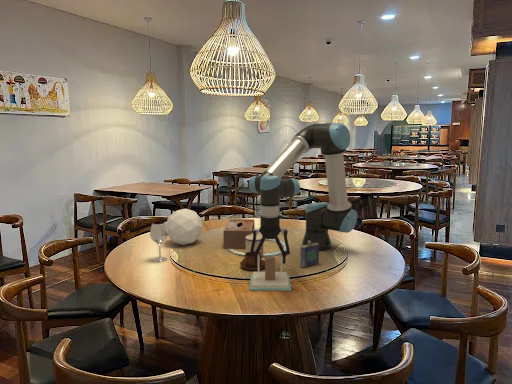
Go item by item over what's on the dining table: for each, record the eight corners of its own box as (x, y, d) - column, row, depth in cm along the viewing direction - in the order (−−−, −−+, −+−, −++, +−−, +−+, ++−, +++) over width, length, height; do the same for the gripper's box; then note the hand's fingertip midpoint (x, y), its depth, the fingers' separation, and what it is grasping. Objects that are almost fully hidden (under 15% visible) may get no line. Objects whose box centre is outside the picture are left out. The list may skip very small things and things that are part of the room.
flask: (302, 268, 166) (303, 243, 164) (298, 266, 169) (298, 241, 167) (320, 264, 171) (320, 239, 169) (315, 262, 174) (316, 238, 172)
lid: (286, 274, 157) (286, 253, 156) (288, 288, 144) (288, 265, 142) (253, 274, 158) (253, 253, 156) (252, 287, 144) (251, 265, 143)
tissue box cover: (230, 235, 220) (229, 219, 219) (254, 236, 220) (254, 219, 218) (223, 249, 195) (223, 230, 194) (251, 249, 194) (251, 230, 193)
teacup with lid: (261, 258, 180) (261, 234, 178) (243, 257, 182) (242, 233, 180) (266, 250, 191) (266, 228, 189) (249, 249, 193) (249, 227, 191)
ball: (192, 252, 210) (212, 223, 213) (182, 250, 191) (204, 218, 193) (165, 234, 214) (185, 205, 217) (153, 230, 195) (175, 198, 197)
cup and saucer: (257, 274, 160) (257, 260, 159) (234, 268, 167) (234, 255, 166) (271, 265, 170) (271, 252, 170) (249, 261, 177) (249, 248, 176)
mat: (288, 275, 158) (288, 273, 158) (291, 290, 142) (291, 289, 142) (250, 275, 159) (250, 273, 159) (249, 290, 143) (249, 289, 143)
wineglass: (172, 257, 181) (170, 221, 178) (162, 263, 174) (161, 225, 171) (157, 256, 184) (156, 220, 181) (147, 261, 176) (145, 224, 173)
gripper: (296, 213, 150) (295, 267, 153) (243, 213, 150) (244, 267, 154) (298, 217, 142) (297, 274, 146) (242, 217, 143) (242, 274, 146)
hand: (270, 271), depth 150 cm, fingers open, 8 cm apart
